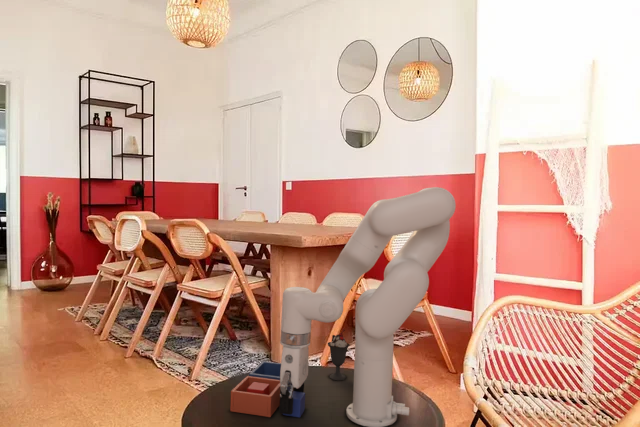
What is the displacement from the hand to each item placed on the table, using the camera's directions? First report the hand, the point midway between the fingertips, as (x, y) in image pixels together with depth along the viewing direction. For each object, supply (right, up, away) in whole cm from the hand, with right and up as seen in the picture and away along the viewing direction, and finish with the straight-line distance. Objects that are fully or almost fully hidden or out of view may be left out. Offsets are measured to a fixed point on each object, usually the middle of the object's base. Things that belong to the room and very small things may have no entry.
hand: (291, 404), depth 118 cm
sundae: (+12, -2, +24) cm, 27 cm away
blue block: (+1, -2, 0) cm, 2 cm away
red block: (-9, -1, +3) cm, 10 cm away
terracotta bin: (-9, -2, +3) cm, 10 cm away
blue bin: (-6, -1, +15) cm, 16 cm away
